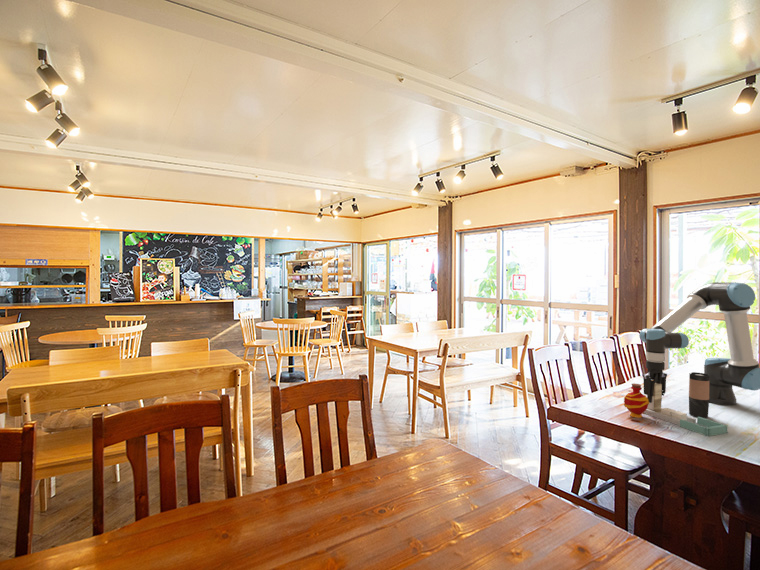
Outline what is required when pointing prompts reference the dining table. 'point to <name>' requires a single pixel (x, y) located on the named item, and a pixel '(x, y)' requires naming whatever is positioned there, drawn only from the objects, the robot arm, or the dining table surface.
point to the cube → (679, 415)
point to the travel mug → (698, 394)
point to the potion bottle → (636, 401)
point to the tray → (709, 430)
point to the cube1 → (667, 411)
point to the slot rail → (668, 417)
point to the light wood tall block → (657, 397)
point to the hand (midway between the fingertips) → (654, 408)
